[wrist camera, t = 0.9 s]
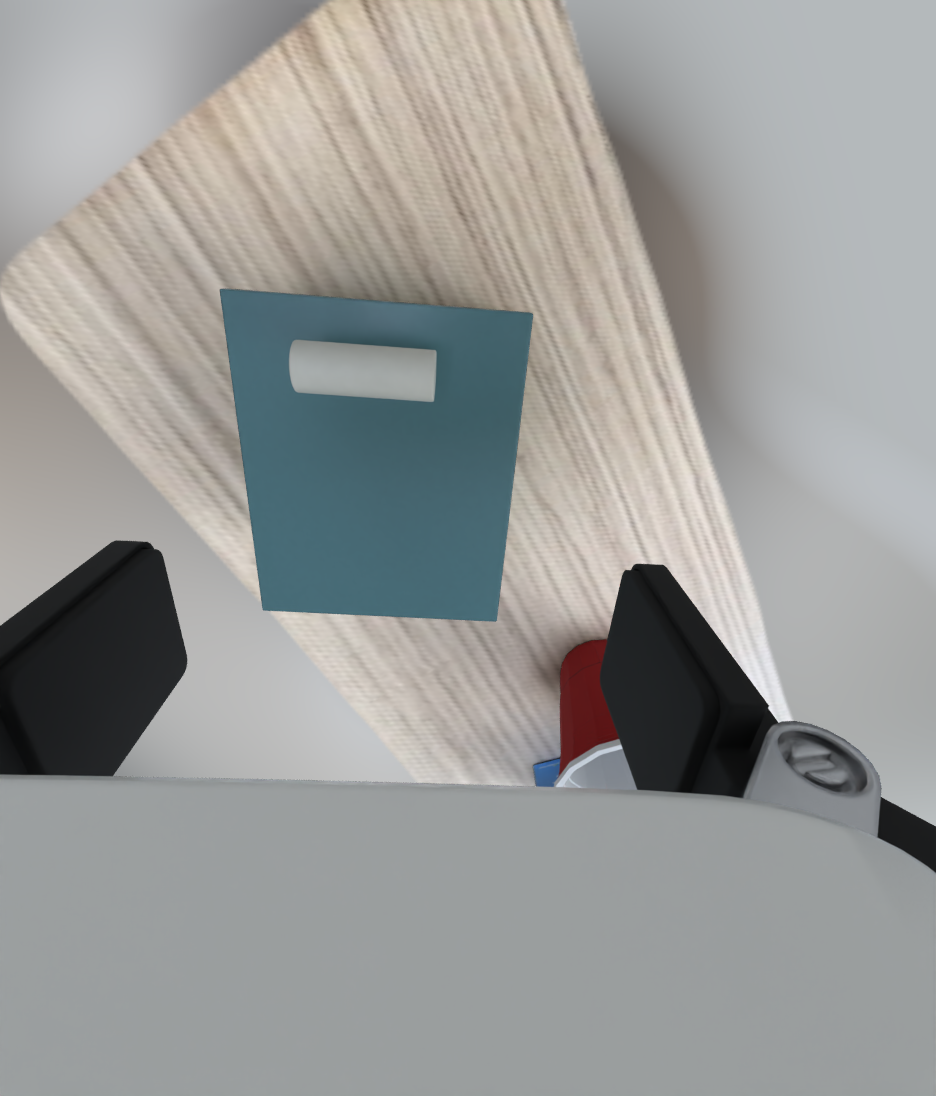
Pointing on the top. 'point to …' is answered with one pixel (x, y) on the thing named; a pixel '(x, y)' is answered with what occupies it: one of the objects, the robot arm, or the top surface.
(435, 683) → the top surface
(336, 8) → the top surface
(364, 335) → the lid
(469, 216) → the top surface
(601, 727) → the plastic cup
